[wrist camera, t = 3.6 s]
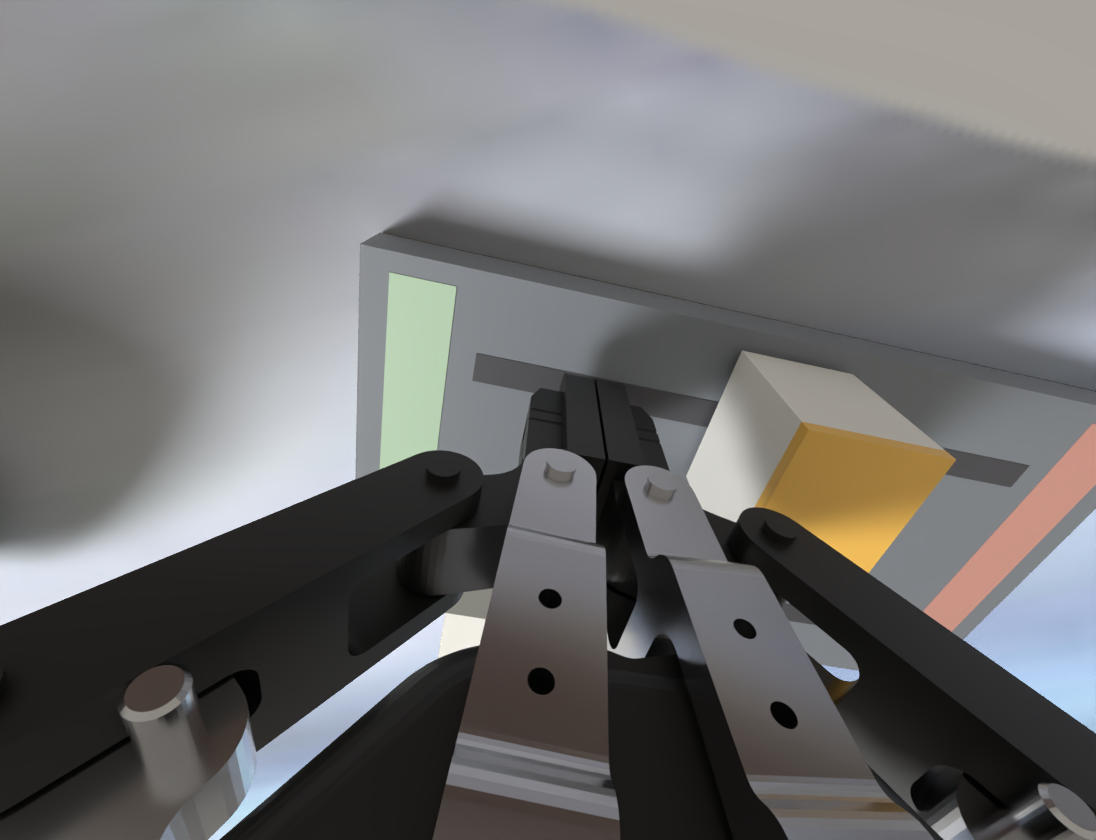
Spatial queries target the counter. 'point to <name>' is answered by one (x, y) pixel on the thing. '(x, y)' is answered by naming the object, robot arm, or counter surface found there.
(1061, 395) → the switch panel
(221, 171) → the counter surface
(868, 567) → the block
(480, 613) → the on breaker
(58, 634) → the robot arm
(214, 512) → the counter surface
